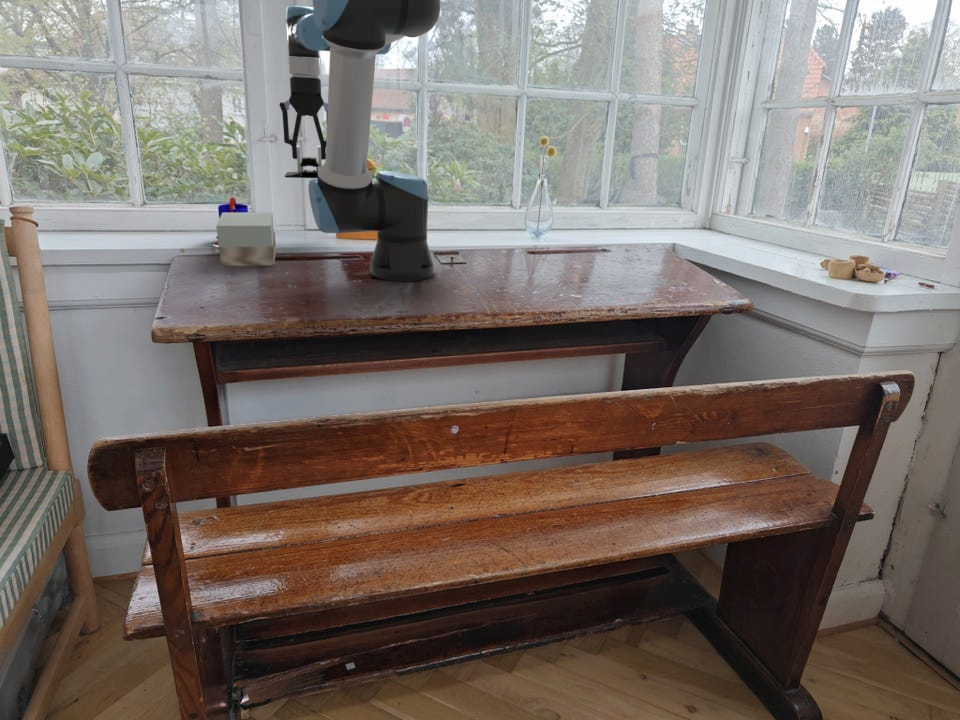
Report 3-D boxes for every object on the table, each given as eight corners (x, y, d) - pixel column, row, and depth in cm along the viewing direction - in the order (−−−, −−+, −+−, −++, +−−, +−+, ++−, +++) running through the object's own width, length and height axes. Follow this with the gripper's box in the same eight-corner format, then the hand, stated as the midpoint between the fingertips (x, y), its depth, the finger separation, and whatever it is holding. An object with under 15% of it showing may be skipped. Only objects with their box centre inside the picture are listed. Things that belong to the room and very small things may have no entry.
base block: (276, 250, 172) (274, 232, 170) (274, 266, 159) (272, 246, 157) (227, 251, 169) (225, 232, 167) (221, 267, 156) (219, 247, 154)
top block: (273, 232, 170) (272, 212, 168) (272, 246, 157) (270, 225, 155) (224, 232, 167) (222, 212, 165) (218, 247, 154) (216, 225, 152)
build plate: (284, 177, 169) (283, 159, 168) (287, 173, 176) (285, 155, 174) (333, 178, 172) (333, 160, 170) (334, 174, 178) (334, 156, 176)
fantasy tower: (215, 237, 181) (210, 192, 176) (260, 237, 184) (257, 193, 179) (210, 248, 170) (204, 201, 166) (258, 247, 173) (254, 201, 168)
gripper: (340, 77, 171) (343, 170, 180) (268, 74, 166) (275, 169, 176) (342, 78, 164) (345, 174, 173) (267, 74, 160) (274, 173, 169)
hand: (310, 171), depth 174 cm, fingers closed on build plate, 5 cm apart
